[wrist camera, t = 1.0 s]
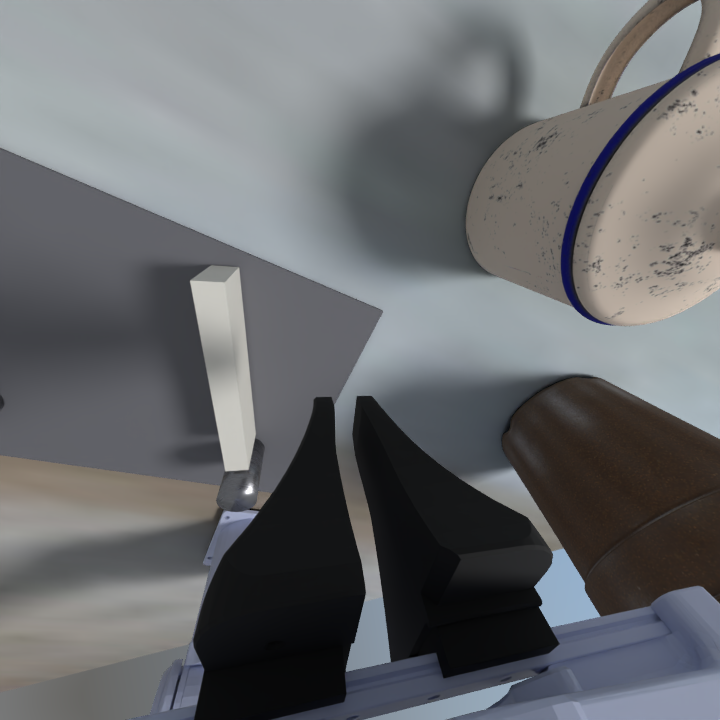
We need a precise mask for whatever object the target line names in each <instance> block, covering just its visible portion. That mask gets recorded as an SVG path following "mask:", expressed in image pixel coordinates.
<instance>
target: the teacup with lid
mask: <svg viewBox="0 0 720 720" xmlns="http://www.w3.org/2000/svg"><path fill="white" fill-rule="evenodd" d="M696 1H698V0H649V1H648V2H647V3H646V4H645V5H644V6H643V7H642V8H641V9H640V10H639V11H638V12H637V13H636V14H635V15H634V16H633V17H632V18H631V19H630V20H629V21H628V23H627V24H626V25H625V26H624V27H623V29H622V30H621V31H620V32H619V33H618V35H617V36H616V37H615V39H614V40H613V41H612V43H611V44H610V46H609V47H608V49H607V50H606V52H605V53H604V55H603V56H602V58H601V60H600V62H599V63H598V65H597V67H596V69H595V71H594V73H593V75H592V78H591V80H590V82H589V85H588V87H587V90H586V92H585V95H584V98H583V101H582V103H581V106H580V109H577V110H573V111H570V112H567V113H564V114H561V115H558V116H555V117H552V118H549V119H546V120H543V121H540V122H537V123H534V124H531V125H529V126H527V127H525V128H523V129H521V130H519V131H518V132H516V133H515V134H513V135H512V136H511V137H509V138H508V139H507V140H506V141H505V142H504V143H502V144H501V145H500V146H499V147H498V149H497V150H496V151H495V152H494V153H493V154H492V156H491V157H490V158H489V159H488V161H487V162H486V164H485V165H484V167H483V168H482V170H481V172H480V174H479V175H478V177H477V180H476V182H475V184H474V186H473V189H472V192H471V195H470V198H469V202H468V207H467V213H466V234H467V240H468V244H469V247H470V250H471V252H472V254H473V256H474V258H475V259H476V261H477V262H478V263H479V265H480V266H481V267H482V268H484V269H485V270H486V271H488V272H489V273H491V274H493V275H495V276H498V277H500V278H503V279H505V280H508V281H510V282H513V283H515V284H518V285H520V286H523V287H525V288H528V289H530V290H533V291H535V292H537V293H540V294H542V295H545V296H547V297H550V298H552V299H555V300H557V301H560V302H562V303H565V304H567V305H570V306H572V307H574V308H575V309H576V310H577V311H578V312H579V313H580V314H581V315H582V316H584V317H586V318H587V319H589V320H591V321H594V322H596V323H600V324H604V325H617V326H635V325H644V324H649V323H653V322H657V321H660V320H663V319H666V318H669V317H671V316H674V315H676V314H678V313H681V312H683V311H685V310H686V309H688V308H690V307H692V306H694V305H695V304H697V303H699V302H700V301H702V300H704V299H705V298H707V297H708V296H709V295H711V294H712V293H714V292H715V291H716V290H718V289H719V288H720V0H701V2H702V13H701V18H700V22H699V26H698V29H697V32H696V34H695V37H694V39H693V42H692V44H691V47H690V49H689V51H688V53H687V56H686V58H685V60H684V62H683V64H682V67H681V69H680V71H679V73H678V75H676V76H675V77H673V78H672V79H669V80H666V81H663V82H660V83H657V84H653V85H650V86H647V87H644V88H641V89H638V90H635V91H632V92H629V93H626V94H623V95H620V96H617V97H613V98H611V97H612V95H613V92H614V90H615V88H616V85H617V83H618V81H619V79H620V77H621V75H622V73H623V72H624V70H625V68H626V67H627V65H628V64H629V62H630V61H631V59H632V58H633V56H634V55H635V54H636V53H637V51H638V50H639V49H640V48H641V47H642V45H643V44H644V43H645V42H646V41H647V40H648V39H649V38H650V37H651V36H652V35H653V34H654V33H655V32H656V31H657V30H658V29H659V28H660V27H661V26H662V25H663V24H665V23H666V22H667V21H668V20H669V19H671V18H672V17H673V16H675V15H676V14H677V13H679V12H680V11H681V10H683V9H684V8H686V7H688V6H689V5H691V4H693V3H695V2H696Z"/></svg>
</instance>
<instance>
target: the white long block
mask: <svg viewBox="0 0 720 720" xmlns="http://www.w3.org/2000/svg"><path fill="white" fill-rule="evenodd" d="M190 284H191V289H192V294H193V300H194V305H195V310H196V316H197V321H198V327H199V332H200V337H201V343H202V348H203V354H204V359H205V364H206V370H207V375H208V380H209V386H210V391H211V397H212V402H213V407H214V413H215V418H216V424H217V429H218V434H219V440H220V445H221V450H222V456H223V461H224V467H225V471H239V470H249V465H250V460H251V455H252V450H253V446H254V441H255V436H256V430H255V420H254V410H253V400H252V391H251V381H250V371H249V361H248V351H247V341H246V331H245V321H244V311H243V301H242V291H241V281H240V271H239V267H230V266H215V265H211V266H209V267H208V268H207V269H205V270H204V271H202V272H201V273H200V274H198V275H197V276H196V277H194V278H193V279H191V280H190Z"/></svg>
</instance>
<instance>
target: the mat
mask: <svg viewBox="0 0 720 720" xmlns="http://www.w3.org/2000/svg"><path fill="white" fill-rule="evenodd" d="M211 265H215V266H230V267H239V271H240V281H241V291H242V301H243V311H244V321H245V331H246V341H247V351H248V361H249V371H250V381H251V391H252V400H253V410H254V420H255V430H256V436H255V438H256V439H258V440H260V441H261V442H262V443H263V444H264V447H265V450H264V457H263V463H262V469H261V476H260V482H259V489H258V491H263V492H270V493H273V491H274V490H275V488H276V487H277V485H278V484H279V482H280V480H281V479H282V477H283V476H284V474H285V472H286V471H287V469H288V467H289V465H290V464H291V462H292V460H293V458H294V456H295V454H296V452H297V450H298V448H299V446H300V444H301V441H302V439H303V437H304V435H305V432H306V429H307V426H308V424H309V421H310V418H311V414H312V410H313V399H315V398H316V397H332V400H333V404H335V402H336V400H337V399H338V397H339V395H340V393H341V391H342V389H343V387H344V385H345V383H346V381H347V379H348V378H349V376H350V374H351V372H352V370H353V368H354V366H355V364H356V362H357V360H358V358H359V357H360V355H361V353H362V351H363V349H364V347H365V345H366V343H367V341H368V339H369V338H370V336H371V334H372V332H373V330H374V328H375V326H376V324H377V322H378V320H379V318H380V317H381V315H382V313H383V311H382V310H380V309H378V308H375V307H373V306H371V305H368V304H366V303H364V302H361V301H359V300H357V299H354V298H352V297H350V296H347V295H345V294H343V293H340V292H338V291H335V290H333V289H331V288H328V287H326V286H324V285H321V284H319V283H317V282H314V281H312V280H310V279H307V278H305V277H303V276H300V275H298V274H296V273H293V272H291V271H288V270H286V269H284V268H281V267H279V266H277V265H274V264H272V263H270V262H267V261H265V260H263V259H260V258H258V257H256V256H253V255H251V254H249V253H246V252H244V251H241V250H239V249H237V248H234V247H232V246H230V245H227V244H225V243H223V242H220V241H218V240H216V239H213V238H211V237H209V236H206V235H204V234H202V233H199V232H197V231H194V230H192V229H190V228H187V227H185V226H183V225H180V224H178V223H176V222H173V221H171V220H169V219H166V218H164V217H162V216H159V215H157V214H155V213H152V212H150V211H147V210H145V209H143V208H140V207H138V206H136V205H133V204H131V203H129V202H126V201H124V200H122V199H119V198H117V197H115V196H112V195H110V194H108V193H105V192H103V191H100V190H98V189H96V188H93V187H91V186H89V185H86V184H84V183H82V182H79V181H77V180H75V179H72V178H70V177H68V176H65V175H63V174H61V173H58V172H56V171H54V170H51V169H49V168H46V167H44V166H42V165H39V164H37V163H35V162H32V161H30V160H28V159H25V158H23V157H21V156H18V155H16V154H14V153H11V152H9V151H7V150H4V149H2V148H0V395H1V396H2V397H3V399H4V403H5V404H4V407H3V408H2V409H1V410H0V455H3V456H11V457H18V458H25V459H32V460H39V461H47V462H54V463H61V464H68V465H75V466H83V467H90V468H97V469H104V470H112V471H119V472H126V473H133V474H140V475H148V476H155V477H162V478H169V479H176V480H184V481H191V482H198V483H205V484H212V485H221V482H222V479H223V475H224V472H225V467H224V461H223V456H222V450H221V445H220V440H219V434H218V429H217V424H216V418H215V413H214V407H213V402H212V397H211V391H210V386H209V380H208V375H207V370H206V364H205V359H204V354H203V348H202V343H201V337H200V332H199V327H198V321H197V316H196V310H195V305H194V300H193V294H192V289H191V284H190V280H191V279H193V278H194V277H196V276H197V275H198V274H200V273H201V272H202V271H204V270H205V269H207V268H208V267H209V266H211Z"/></svg>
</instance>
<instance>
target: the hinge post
mask: <svg viewBox="0 0 720 720" xmlns="http://www.w3.org/2000/svg"><path fill="white" fill-rule="evenodd" d="M264 450H265V447H264V444H263V443H262V442H261V441H260V440H258V439H256V438H255V441H254V446H253V450H252V455H251V460H250V465H249V470H239V471H225V472H224V475H223V479H222V482H221V485H220V489H219V492H218V496H217V499H216V501H217V504H218V506H219V507H220V508H222V509H224V510H226V511H230V512H242V511H246V510H248V509H250V508H252V507H253V506H254V505H255V504H256V501H257V495H258V489H259V482H260V476H261V469H262V463H263V457H264Z"/></svg>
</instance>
